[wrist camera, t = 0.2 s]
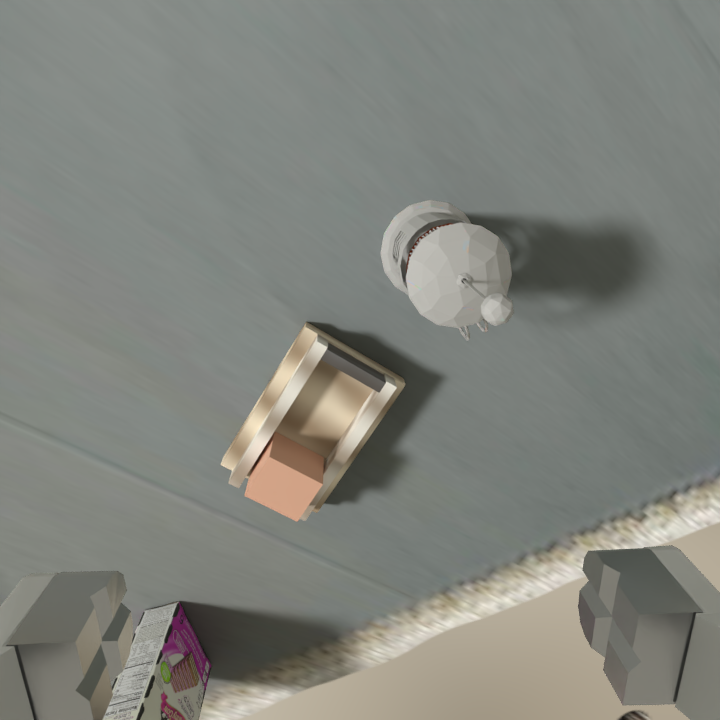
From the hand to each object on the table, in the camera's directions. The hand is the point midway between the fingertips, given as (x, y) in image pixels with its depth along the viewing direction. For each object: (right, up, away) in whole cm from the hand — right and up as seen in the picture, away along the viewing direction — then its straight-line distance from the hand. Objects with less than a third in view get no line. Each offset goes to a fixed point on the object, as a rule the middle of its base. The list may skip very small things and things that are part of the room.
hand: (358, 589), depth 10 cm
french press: (+7, +14, +46) cm, 49 cm away
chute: (-5, -2, +51) cm, 51 cm away
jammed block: (-8, -7, +50) cm, 51 cm away
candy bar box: (-23, -31, +60) cm, 71 cm away
